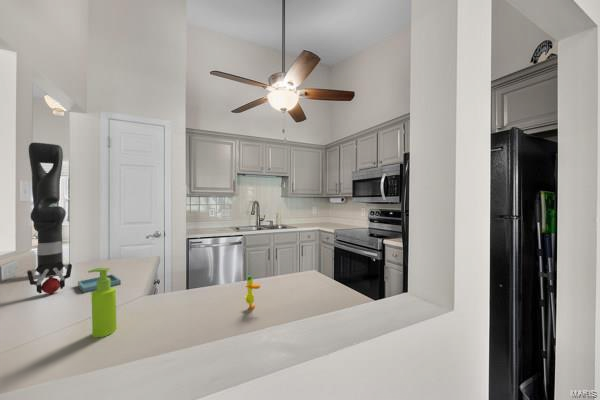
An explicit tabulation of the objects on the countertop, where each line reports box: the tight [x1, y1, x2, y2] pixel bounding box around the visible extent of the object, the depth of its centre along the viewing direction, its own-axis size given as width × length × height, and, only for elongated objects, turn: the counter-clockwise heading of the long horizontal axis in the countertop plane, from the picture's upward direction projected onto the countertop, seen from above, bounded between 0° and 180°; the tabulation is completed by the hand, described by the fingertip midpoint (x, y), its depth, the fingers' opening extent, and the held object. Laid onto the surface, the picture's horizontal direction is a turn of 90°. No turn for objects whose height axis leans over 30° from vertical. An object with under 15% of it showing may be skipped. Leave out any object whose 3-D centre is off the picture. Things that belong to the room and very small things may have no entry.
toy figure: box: [243, 275, 261, 310], centre depth 92 cm, size 7×4×12 cm, turn 77°
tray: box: [77, 273, 122, 294], centre depth 117 cm, size 14×14×2 cm
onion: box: [41, 276, 60, 295], centre depth 107 cm, size 6×6×8 cm
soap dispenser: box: [87, 267, 118, 339], centre depth 76 cm, size 6×7×20 cm
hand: (51, 290), depth 107 cm, fingers closed on onion, 6 cm apart
